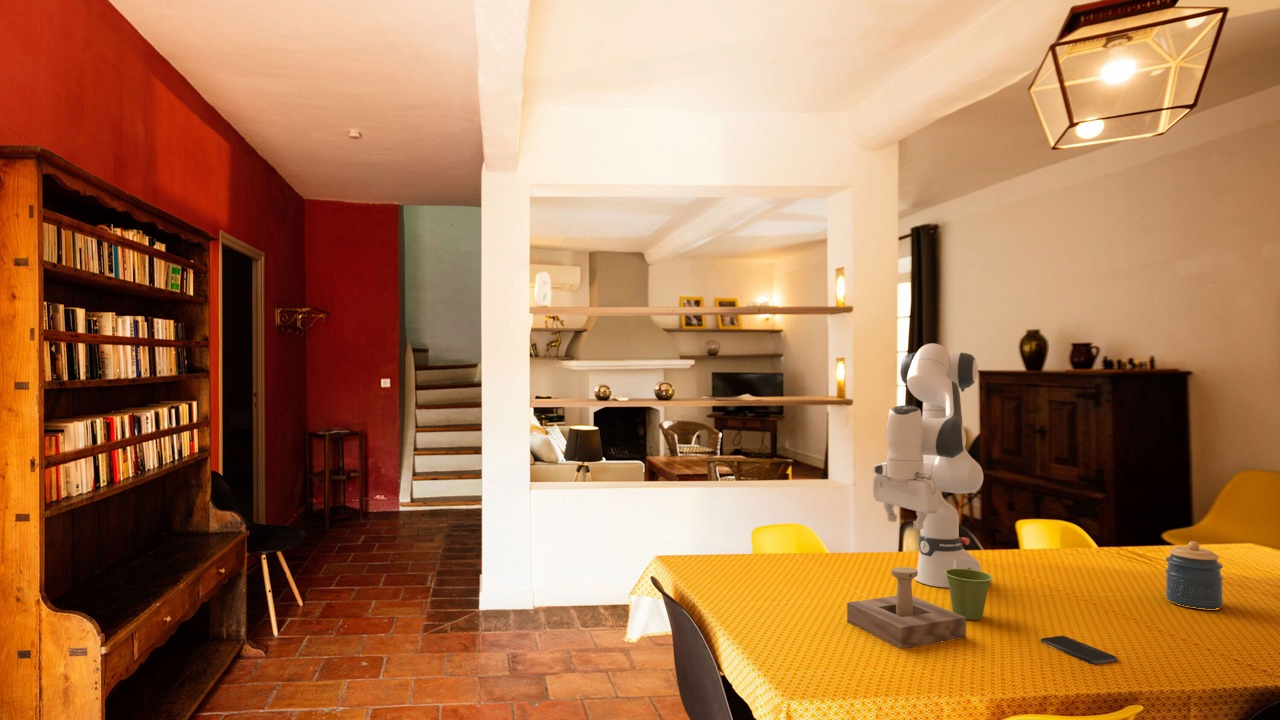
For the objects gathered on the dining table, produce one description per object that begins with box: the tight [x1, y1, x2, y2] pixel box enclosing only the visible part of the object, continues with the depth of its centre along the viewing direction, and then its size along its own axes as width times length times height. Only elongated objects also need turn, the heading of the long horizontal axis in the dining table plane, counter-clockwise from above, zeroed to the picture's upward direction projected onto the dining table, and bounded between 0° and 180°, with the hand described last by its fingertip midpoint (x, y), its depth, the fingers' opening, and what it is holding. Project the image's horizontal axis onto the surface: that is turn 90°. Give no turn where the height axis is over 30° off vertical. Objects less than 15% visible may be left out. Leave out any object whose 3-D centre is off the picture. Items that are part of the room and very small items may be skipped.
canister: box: [1165, 540, 1224, 609], centre depth 209 cm, size 13×13×18 cm
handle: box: [891, 566, 918, 617], centre depth 187 cm, size 5×6×15 cm
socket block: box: [846, 595, 967, 650], centre depth 187 cm, size 20×20×5 cm
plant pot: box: [944, 568, 994, 621], centre depth 198 cm, size 12×12×11 cm
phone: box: [1040, 635, 1118, 666], centre depth 173 cm, size 8×1×15 cm
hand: (904, 524), depth 187 cm, fingers open, 8 cm apart
